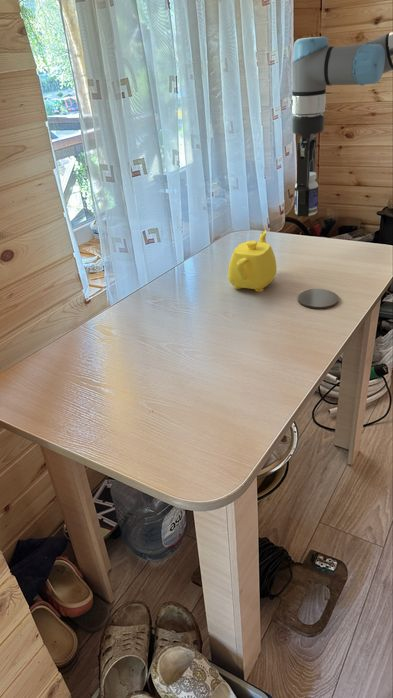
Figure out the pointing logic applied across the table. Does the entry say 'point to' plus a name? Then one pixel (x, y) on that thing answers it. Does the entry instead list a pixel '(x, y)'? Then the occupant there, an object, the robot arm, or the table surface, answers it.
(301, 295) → the coaster
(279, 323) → the table surface
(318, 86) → the robot arm
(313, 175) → the pill bottle
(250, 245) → the teapot
